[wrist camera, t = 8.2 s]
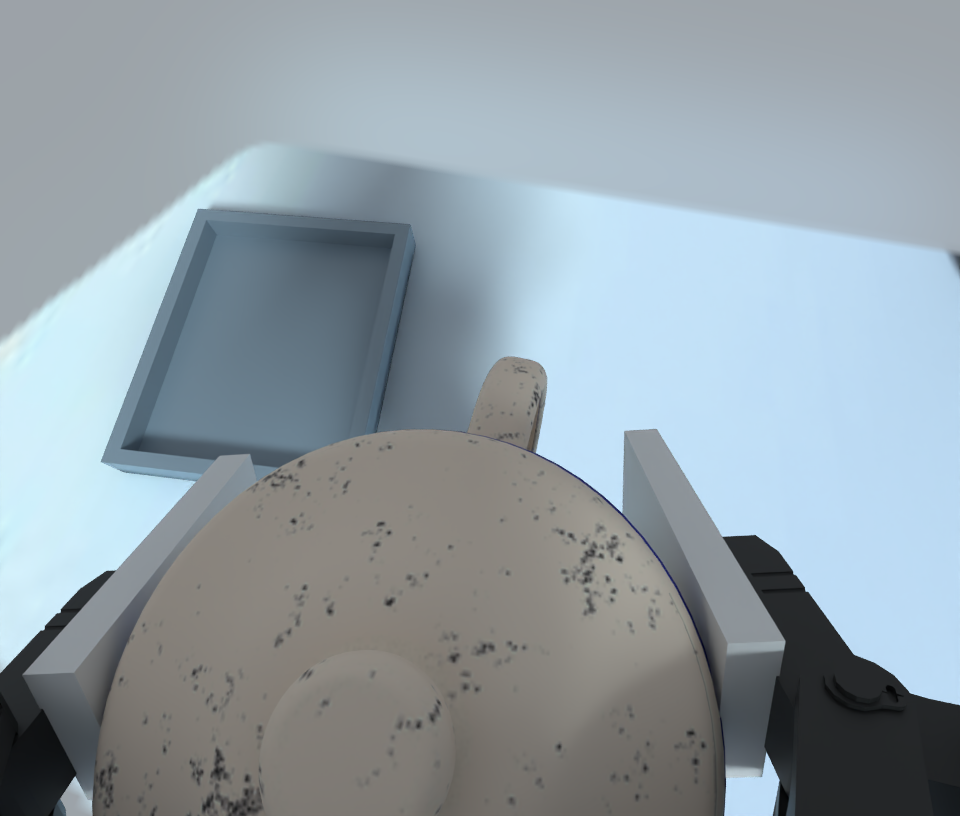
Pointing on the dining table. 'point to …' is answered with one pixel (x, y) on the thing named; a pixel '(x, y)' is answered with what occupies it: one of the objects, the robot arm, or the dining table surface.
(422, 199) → the dining table surface
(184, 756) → the teacup with lid
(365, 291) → the slate tray
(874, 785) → the robot arm
